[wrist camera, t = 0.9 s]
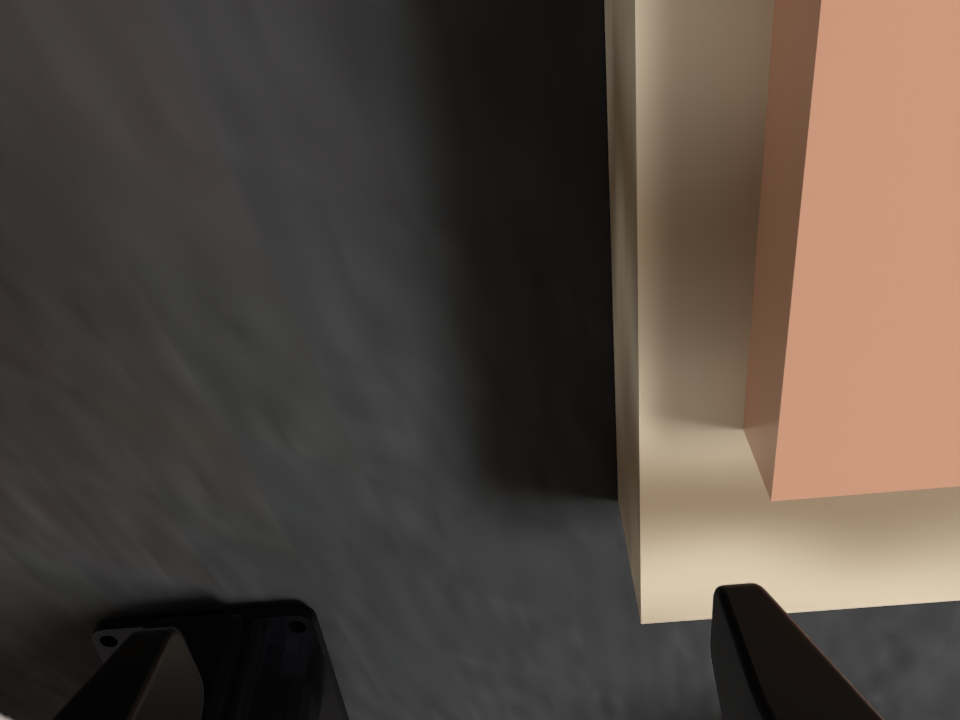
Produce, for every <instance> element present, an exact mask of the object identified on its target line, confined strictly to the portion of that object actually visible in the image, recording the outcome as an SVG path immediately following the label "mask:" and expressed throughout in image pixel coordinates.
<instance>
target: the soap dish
mask: <svg viewBox="0 0 960 720" xmlns="http://www.w3.org/2000/svg"><path fill="white" fill-rule="evenodd" d="M774 2H775V0H604V11H605V46H606V82H607V118H608V154H609V189H610V225H611V261H612V297H613V332H614V368H615V404H616V440H617V475H618V503H619V509H620V514H621V519H622V525H623V530H624V535H625V541H626V546H627V551H628V557H629V562H630V567H631V573H632V578H633V583H634V589H635V594H636V599H637V605H638V610H639V615H640V621H641V624H648V623H662V622H675V621H688V620H702V619H712V608H713V594H714V592H715V589H716V588H717V587H718V586H721V585H731V584H744V583H756V584H758V585H760V586H762V587H763V588H764V589H765V590H766V591H767V592H768V593H769V594H770V595H771V596H772V597H773V599H774V600H775V601H776V602H777V603H778V604H779V605H780V606H781V607H782V608H783V609H784V611H785V612H786V613H796V612H809V611H822V610H836V609H849V608H863V607H876V606H889V605H903V604H916V603H930V602H943V601H956V600H960V486H956V487H944V488H932V489H920V490H907V491H895V492H883V493H870V494H858V495H846V496H833V497H821V498H809V499H796V500H784V501H772V502H771V500H770V498H769V495H768V493H767V490H766V487H765V485H764V482H763V480H762V477H761V474H760V472H759V469H758V467H757V464H756V461H755V459H754V456H753V454H752V451H751V448H750V446H749V443H748V441H747V438H746V435H745V433H744V430H743V427H744V413H745V399H746V386H747V372H748V358H749V345H750V331H751V317H752V303H753V290H754V276H755V262H756V249H757V235H758V221H759V207H760V194H761V180H762V166H763V153H764V139H765V125H766V112H767V98H768V84H769V70H770V57H771V43H772V29H773V16H774Z"/></svg>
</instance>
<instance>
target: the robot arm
mask: <svg viewBox="0 0 960 720" xmlns="http://www.w3.org/2000/svg"><path fill="white" fill-rule="evenodd" d="M298 621H299V622H298ZM91 641H92V644H93V646H94V648H95V649H96V651H97V653H98V655H99V657H100V659H101V661H102V663H103V664H102V665H101V666H100V667H99V668H98V670H97V671H96V672H95V673H94V674H93V675H92V676H91V677H90V678H89V679H88V681H87V682H86V683H85V684H84V685H83V686H82V687H81V688H80V689H79V690H78V691H77V693H76V694H75V695H74V696H73V697H72V698H71V699H70V700H69V701H68V702H67V703H66V705H65V706H64V707H63V708H62V709H61V710H60V711H59V712H58V713H57V714H56V715H55V717H54V718H53V719H52V720H349V718H348V715H347V711H346V708H345V705H344V702H343V699H342V695H341V692H340V689H339V686H338V683H337V679H336V676H335V673H334V670H333V667H332V663H331V660H330V657H329V654H328V651H327V647H326V644H325V641H324V638H323V635H322V631H321V628H320V625H319V622H318V619H317V615H316V613H315V612H314V610H313V609H311V608H310V607H308V606H305V605H300V604H292V605H279V606H266V607H253V608H240V609H228V610H215V611H202V612H189V613H176V614H163V615H150V616H137V617H124V618H111V619H104V620H101V621H100V622H98V623H97V625H96V627H95V630H94V632H93V634H92V637H91ZM711 657H712V664H713V670H714V675H715V680H716V686H717V691H718V696H719V702H720V707H721V712H722V718H723V720H884V718H883V717H882V716H881V715H880V714H879V713H878V712H877V711H876V710H875V709H874V708H873V706H872V705H871V704H870V703H869V702H868V701H867V700H866V699H865V698H864V697H863V696H862V694H861V693H860V692H859V691H858V690H857V689H856V688H855V687H854V686H853V685H852V684H851V683H850V681H849V680H848V679H847V678H846V677H845V676H844V675H843V674H842V673H841V672H840V671H839V669H838V668H837V667H836V666H835V665H834V664H833V663H832V662H831V661H830V660H829V659H828V657H827V656H826V655H825V654H824V653H823V652H822V651H821V650H820V649H819V648H818V647H817V645H816V644H815V643H814V642H813V641H812V640H811V639H810V638H809V637H808V636H807V635H806V633H805V632H804V631H803V630H802V629H801V628H800V627H799V626H798V625H797V624H796V623H795V621H794V620H793V619H792V618H791V617H790V616H789V615H788V614H787V613H786V612H785V611H784V609H783V608H782V607H781V606H780V605H779V604H778V603H777V602H776V601H775V600H774V599H773V597H772V596H771V595H770V594H769V593H768V592H767V591H766V590H765V589H764V588H763V587H762V586H760V585H758V584H756V583H744V584H731V585H721V586H718V587H717V588H716V589H715V592H714V594H713V608H712V625H711Z"/></svg>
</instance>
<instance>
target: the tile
mask: <svg viewBox="0 0 960 720" xmlns="http://www.w3.org/2000/svg"><path fill="white" fill-rule="evenodd" d="M743 430H744V433H745V435H746V438H747V441H748V443H749V446H750V448H751V451H752V454H753V456H754V459H755V461H756V464H757V467H758V469H759V472H760V474H761V477H762V480H763V482H764V485H765V487H766V490H767V493H768V495H769V498H770V500H771V502H772V501H784V500H796V499H809V498H821V497H833V496H846V495H858V494H870V493H883V492H895V491H907V490H920V489H932V488H944V487H956V486H960V0H775V2H774V16H773V29H772V43H771V57H770V70H769V84H768V98H767V112H766V125H765V139H764V153H763V166H762V180H761V194H760V207H759V221H758V235H757V249H756V262H755V276H754V290H753V303H752V317H751V331H750V345H749V358H748V372H747V386H746V399H745V413H744V427H743Z"/></svg>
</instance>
